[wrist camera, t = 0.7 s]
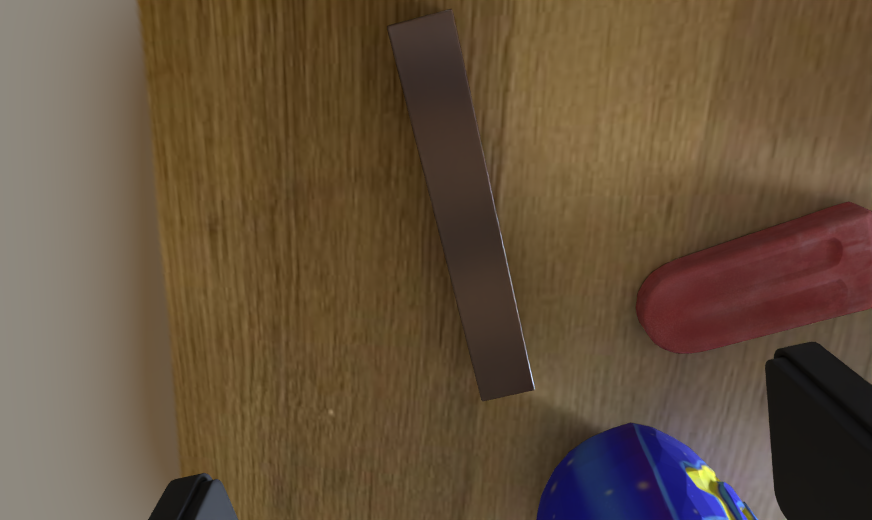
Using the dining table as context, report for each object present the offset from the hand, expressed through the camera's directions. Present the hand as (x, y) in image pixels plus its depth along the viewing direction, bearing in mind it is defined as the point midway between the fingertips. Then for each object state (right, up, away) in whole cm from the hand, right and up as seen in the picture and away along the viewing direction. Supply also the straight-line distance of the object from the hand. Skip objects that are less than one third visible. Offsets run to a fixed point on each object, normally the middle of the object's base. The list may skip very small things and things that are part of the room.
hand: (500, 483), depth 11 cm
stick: (0, +6, +17) cm, 18 cm away
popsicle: (+15, +4, +18) cm, 24 cm away
